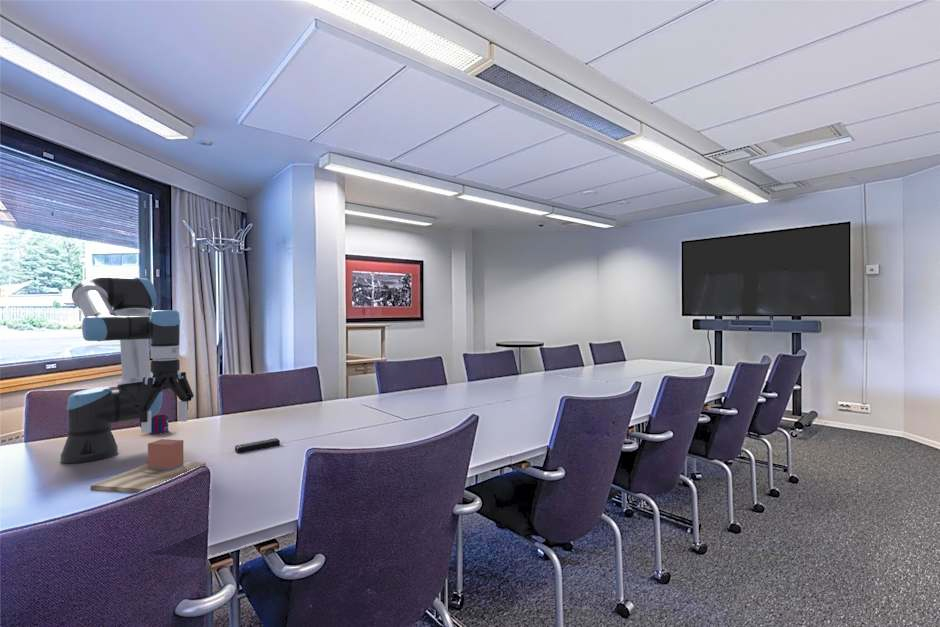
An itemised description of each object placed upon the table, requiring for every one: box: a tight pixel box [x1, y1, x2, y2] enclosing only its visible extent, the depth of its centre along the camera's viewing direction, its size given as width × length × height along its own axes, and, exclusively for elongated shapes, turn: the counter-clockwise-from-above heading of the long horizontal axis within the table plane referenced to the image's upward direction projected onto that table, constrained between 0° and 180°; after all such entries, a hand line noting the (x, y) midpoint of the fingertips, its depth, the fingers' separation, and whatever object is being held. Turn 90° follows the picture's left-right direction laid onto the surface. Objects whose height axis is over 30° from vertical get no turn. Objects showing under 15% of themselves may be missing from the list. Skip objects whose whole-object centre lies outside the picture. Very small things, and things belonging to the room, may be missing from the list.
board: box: [90, 460, 207, 494], centre depth 135 cm, size 18×22×1 cm
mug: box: [139, 414, 169, 435], centre depth 187 cm, size 7×10×7 cm
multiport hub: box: [234, 437, 281, 454], centre depth 164 cm, size 4×14×2 cm, turn 131°
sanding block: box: [147, 438, 184, 471], centre depth 140 cm, size 8×5×8 cm, turn 80°
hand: (165, 426), depth 140 cm, fingers open, 13 cm apart
